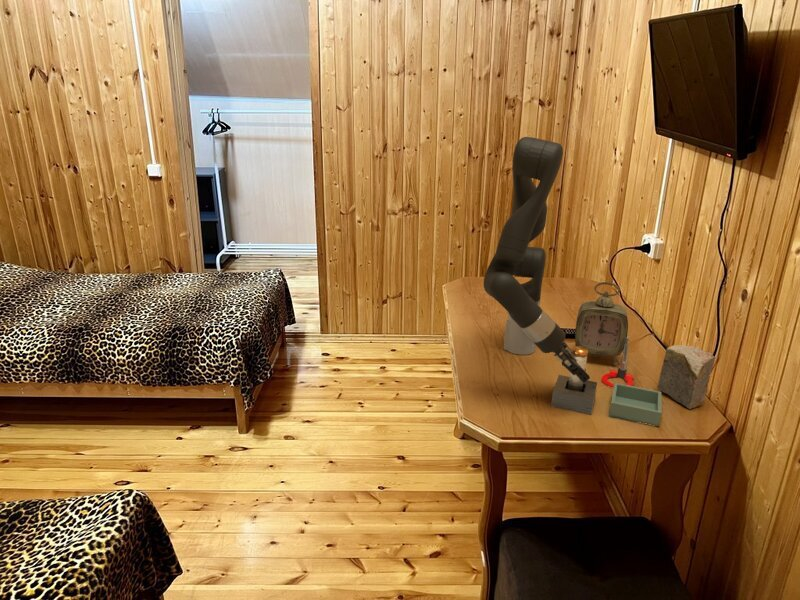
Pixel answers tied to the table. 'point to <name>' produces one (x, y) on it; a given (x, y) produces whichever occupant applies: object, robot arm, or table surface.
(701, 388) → the geological specimen
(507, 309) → the robot arm
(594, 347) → the tabletop clock
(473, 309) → the table surface
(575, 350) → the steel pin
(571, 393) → the block
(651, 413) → the tray
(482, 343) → the table surface
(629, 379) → the tow hook
